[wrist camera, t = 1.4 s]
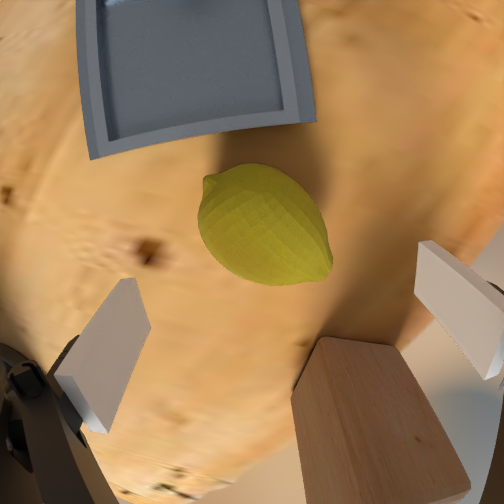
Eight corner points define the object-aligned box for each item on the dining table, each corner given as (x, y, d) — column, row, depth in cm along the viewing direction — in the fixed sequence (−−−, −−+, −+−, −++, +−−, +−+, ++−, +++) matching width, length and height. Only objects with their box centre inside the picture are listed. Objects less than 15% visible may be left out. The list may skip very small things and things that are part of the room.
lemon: (180, 198, 25) (155, 227, 18) (251, 132, 24) (255, 131, 16) (268, 285, 28) (277, 339, 21) (336, 229, 27) (369, 267, 19)
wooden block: (397, 342, 32) (479, 488, 13) (360, 403, 35) (406, 538, 16) (318, 330, 30) (376, 517, 12) (286, 397, 34) (309, 557, 15)
